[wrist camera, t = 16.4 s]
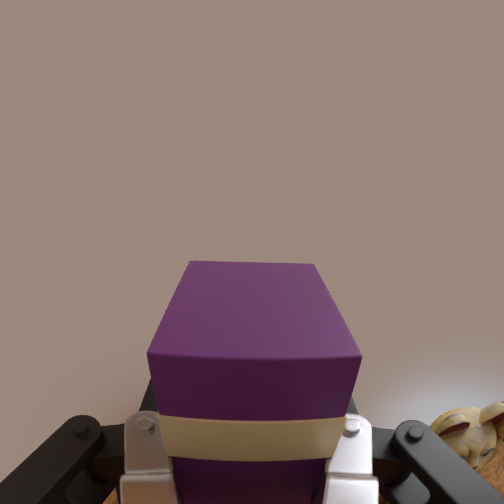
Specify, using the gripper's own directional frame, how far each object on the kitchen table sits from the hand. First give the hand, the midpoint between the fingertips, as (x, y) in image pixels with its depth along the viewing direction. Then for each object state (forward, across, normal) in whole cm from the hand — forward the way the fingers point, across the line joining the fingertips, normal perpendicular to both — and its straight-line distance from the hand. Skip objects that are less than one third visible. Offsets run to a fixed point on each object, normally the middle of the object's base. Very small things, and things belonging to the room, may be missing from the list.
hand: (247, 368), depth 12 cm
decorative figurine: (+2, -18, +22) cm, 28 cm away
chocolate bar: (-3, 0, +6) cm, 7 cm away
